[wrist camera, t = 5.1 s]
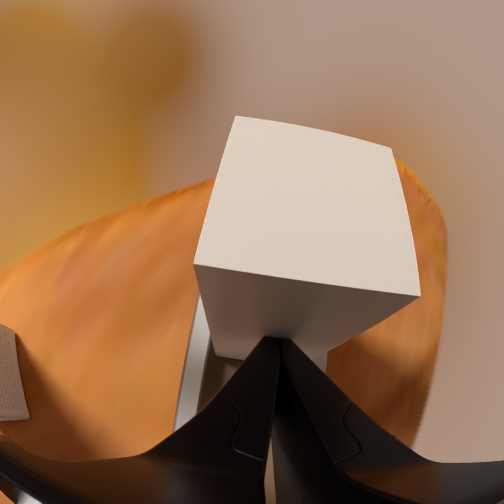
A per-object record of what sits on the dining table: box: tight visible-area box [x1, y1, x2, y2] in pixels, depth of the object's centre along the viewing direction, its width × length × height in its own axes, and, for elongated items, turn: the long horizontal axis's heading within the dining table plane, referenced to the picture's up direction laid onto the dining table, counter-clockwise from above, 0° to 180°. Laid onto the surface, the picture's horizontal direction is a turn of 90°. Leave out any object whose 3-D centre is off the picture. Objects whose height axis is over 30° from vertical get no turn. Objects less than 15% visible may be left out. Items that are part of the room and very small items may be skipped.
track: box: [172, 291, 328, 504], centre depth 12 cm, size 17×7×2 cm, turn 172°
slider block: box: [193, 116, 421, 360], centre depth 10 cm, size 4×4×10 cm
